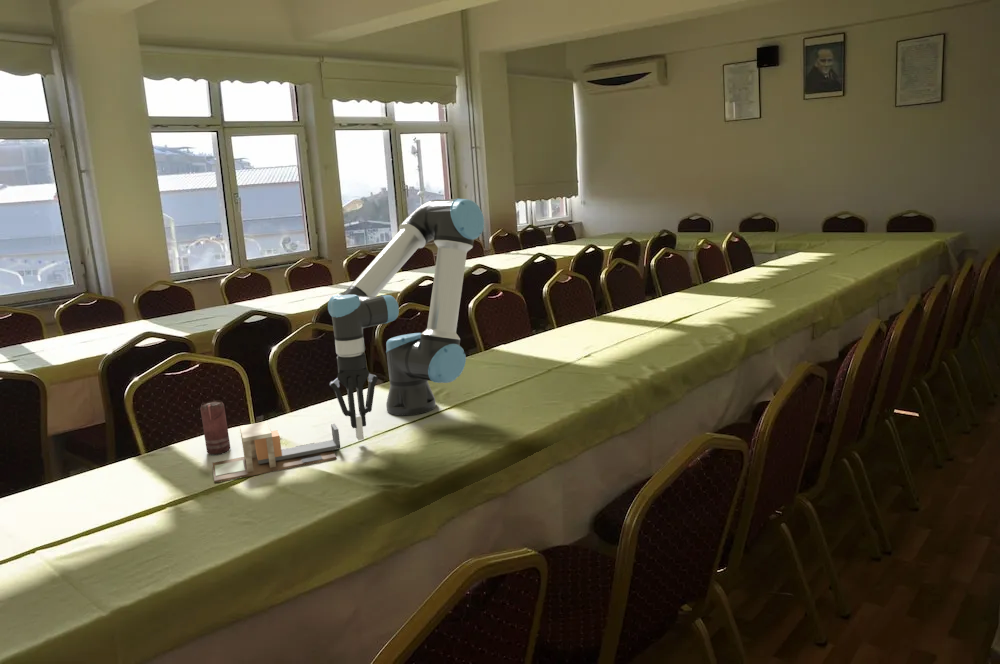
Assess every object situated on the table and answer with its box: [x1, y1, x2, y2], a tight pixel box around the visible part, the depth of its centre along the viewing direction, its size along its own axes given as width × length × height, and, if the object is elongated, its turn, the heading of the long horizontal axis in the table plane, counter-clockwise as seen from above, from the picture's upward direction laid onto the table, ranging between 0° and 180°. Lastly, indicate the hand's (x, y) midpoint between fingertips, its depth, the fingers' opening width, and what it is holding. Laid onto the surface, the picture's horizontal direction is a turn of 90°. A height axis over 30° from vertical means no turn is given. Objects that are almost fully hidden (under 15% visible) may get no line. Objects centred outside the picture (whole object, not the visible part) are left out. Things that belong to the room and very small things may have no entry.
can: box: [199, 400, 231, 456], centre depth 213 cm, size 6×6×14 cm
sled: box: [254, 423, 341, 464], centre depth 205 cm, size 21×5×6 cm, turn 112°
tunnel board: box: [212, 420, 337, 483], centre depth 203 cm, size 30×14×10 cm, turn 112°
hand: (360, 438), depth 211 cm, fingers closed
